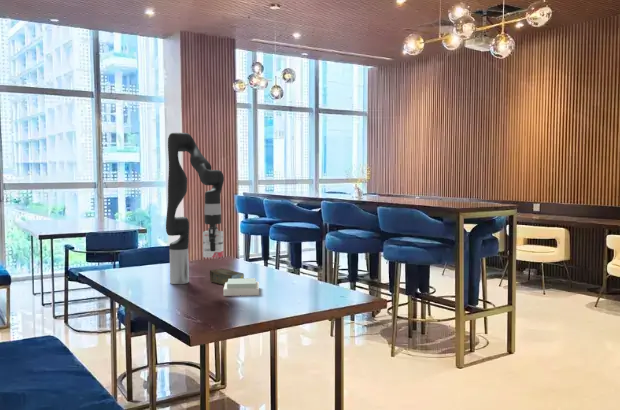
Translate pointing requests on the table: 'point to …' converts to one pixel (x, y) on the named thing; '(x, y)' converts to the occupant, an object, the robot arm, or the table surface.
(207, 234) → the ink box
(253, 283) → the mint framed tile
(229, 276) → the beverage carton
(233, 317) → the table surface
